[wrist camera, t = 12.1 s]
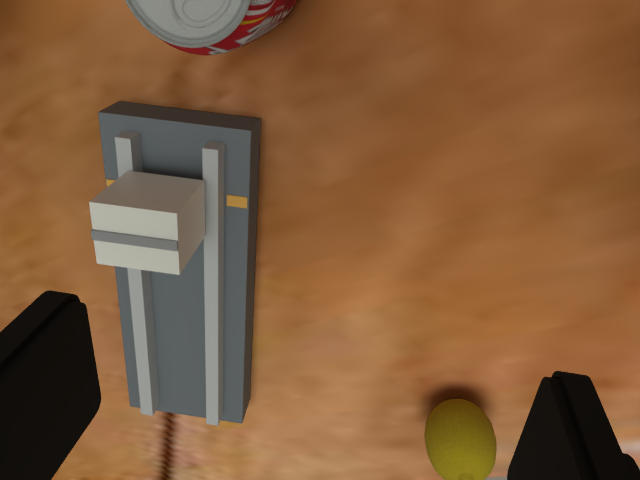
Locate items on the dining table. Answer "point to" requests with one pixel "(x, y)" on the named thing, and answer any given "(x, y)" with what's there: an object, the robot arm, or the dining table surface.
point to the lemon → (460, 441)
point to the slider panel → (191, 262)
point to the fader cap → (148, 222)
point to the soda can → (209, 22)
